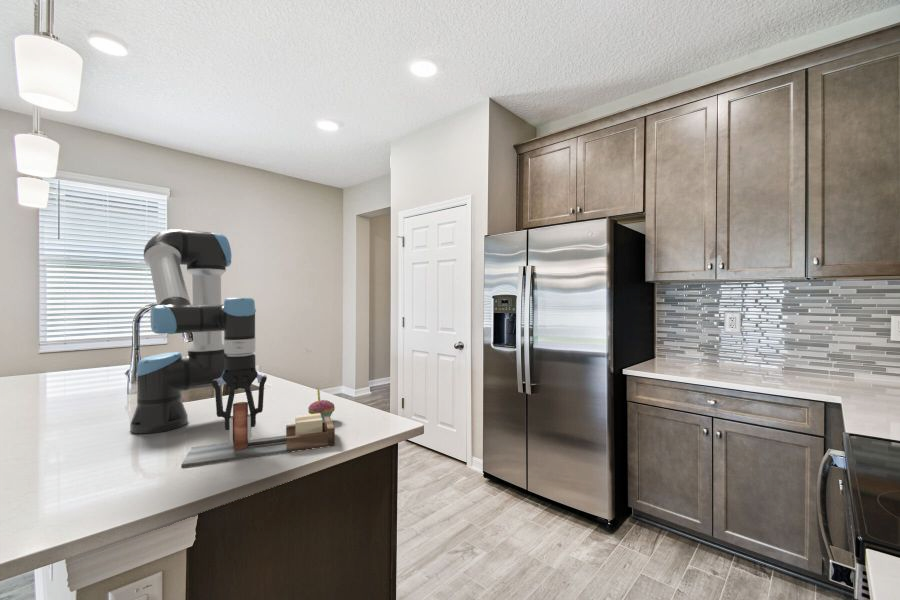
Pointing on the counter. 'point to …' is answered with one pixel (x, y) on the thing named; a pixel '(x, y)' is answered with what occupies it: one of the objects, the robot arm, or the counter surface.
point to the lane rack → (262, 446)
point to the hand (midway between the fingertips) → (240, 439)
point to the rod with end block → (240, 440)
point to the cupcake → (321, 407)
